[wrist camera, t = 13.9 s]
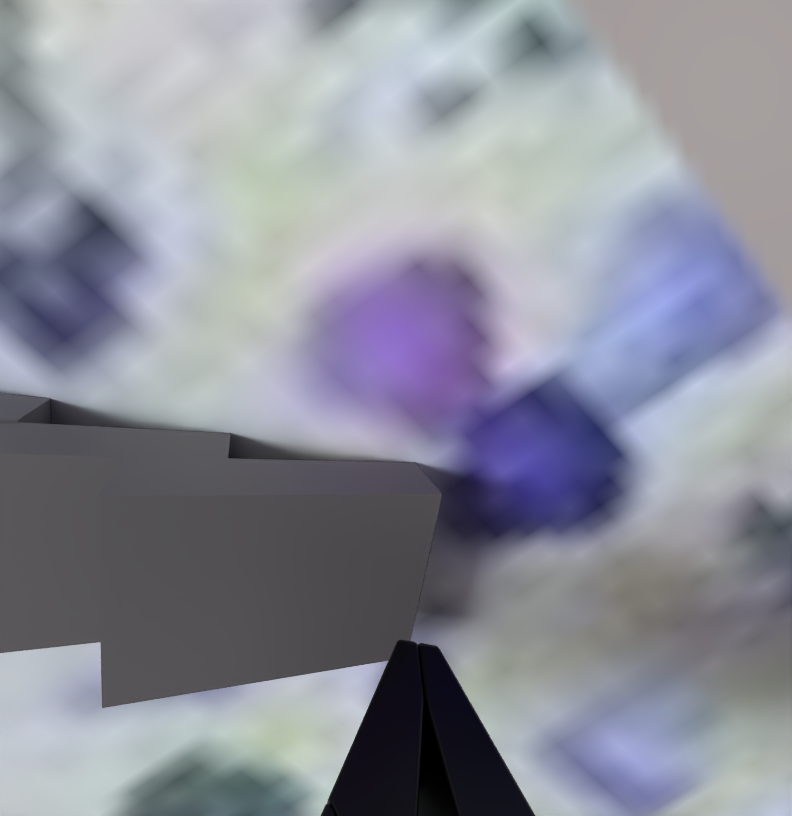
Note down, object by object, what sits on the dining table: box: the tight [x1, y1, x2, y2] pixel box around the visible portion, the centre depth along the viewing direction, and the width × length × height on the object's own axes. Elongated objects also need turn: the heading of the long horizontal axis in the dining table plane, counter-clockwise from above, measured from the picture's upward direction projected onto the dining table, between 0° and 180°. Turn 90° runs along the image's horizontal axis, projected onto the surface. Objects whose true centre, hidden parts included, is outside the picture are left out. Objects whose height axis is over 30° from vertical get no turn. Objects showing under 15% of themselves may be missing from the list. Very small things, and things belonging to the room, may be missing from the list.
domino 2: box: [98, 456, 442, 708], centre depth 10 cm, size 2×5×7 cm
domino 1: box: [0, 421, 231, 653], centre depth 10 cm, size 2×5×7 cm
